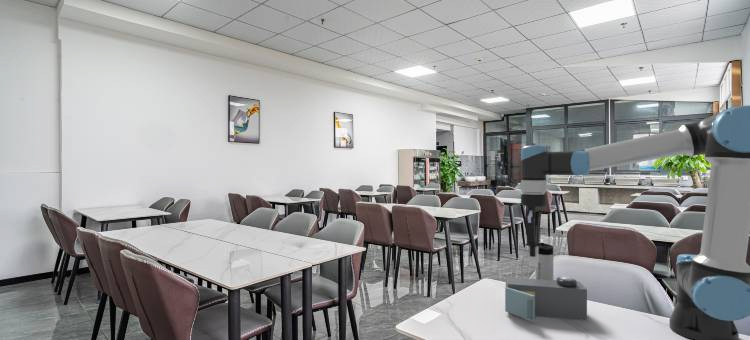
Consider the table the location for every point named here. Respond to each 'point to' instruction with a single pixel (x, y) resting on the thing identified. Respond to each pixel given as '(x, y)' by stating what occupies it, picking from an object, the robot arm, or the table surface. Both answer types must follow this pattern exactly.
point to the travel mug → (544, 262)
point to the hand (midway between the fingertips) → (533, 265)
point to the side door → (520, 304)
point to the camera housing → (554, 296)
